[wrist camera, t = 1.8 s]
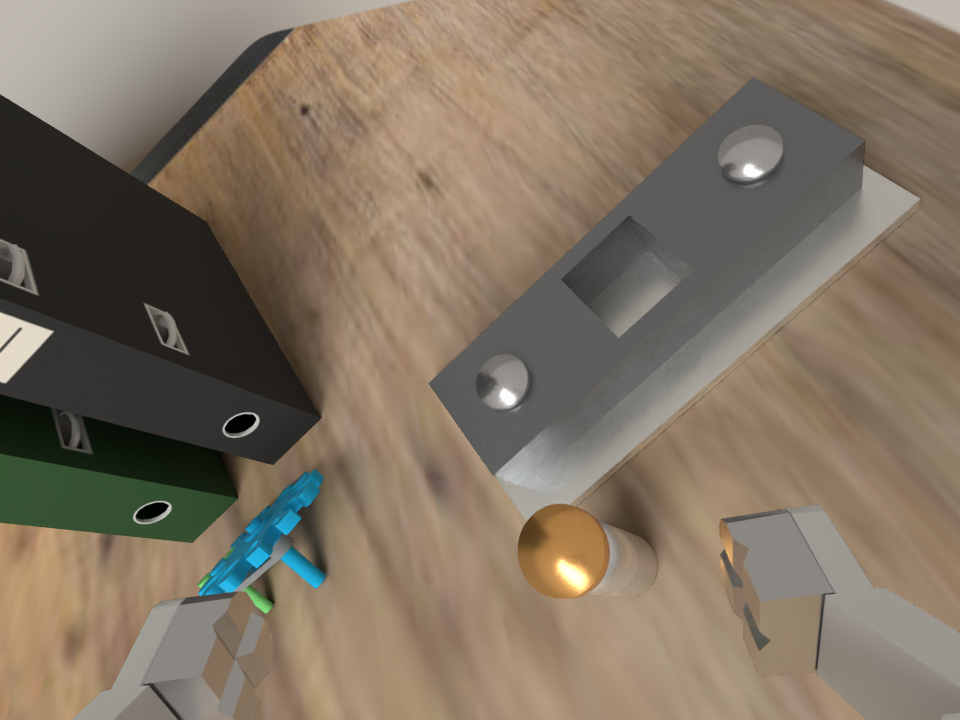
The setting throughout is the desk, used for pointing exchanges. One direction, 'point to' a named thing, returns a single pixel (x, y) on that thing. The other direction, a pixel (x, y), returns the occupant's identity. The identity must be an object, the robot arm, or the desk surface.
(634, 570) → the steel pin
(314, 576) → the gear
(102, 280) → the binders
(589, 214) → the desk surface
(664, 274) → the grey slotted bar
